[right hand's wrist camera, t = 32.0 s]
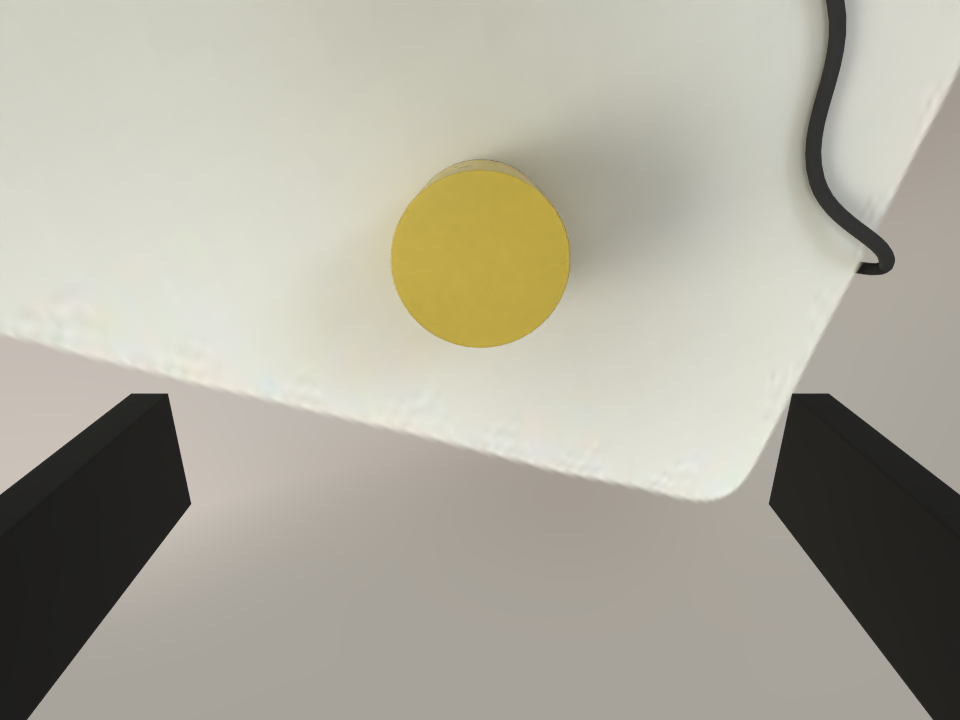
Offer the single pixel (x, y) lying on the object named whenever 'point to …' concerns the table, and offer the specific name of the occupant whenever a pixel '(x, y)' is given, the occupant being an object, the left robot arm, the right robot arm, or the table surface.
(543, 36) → the table surface
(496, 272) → the tin
